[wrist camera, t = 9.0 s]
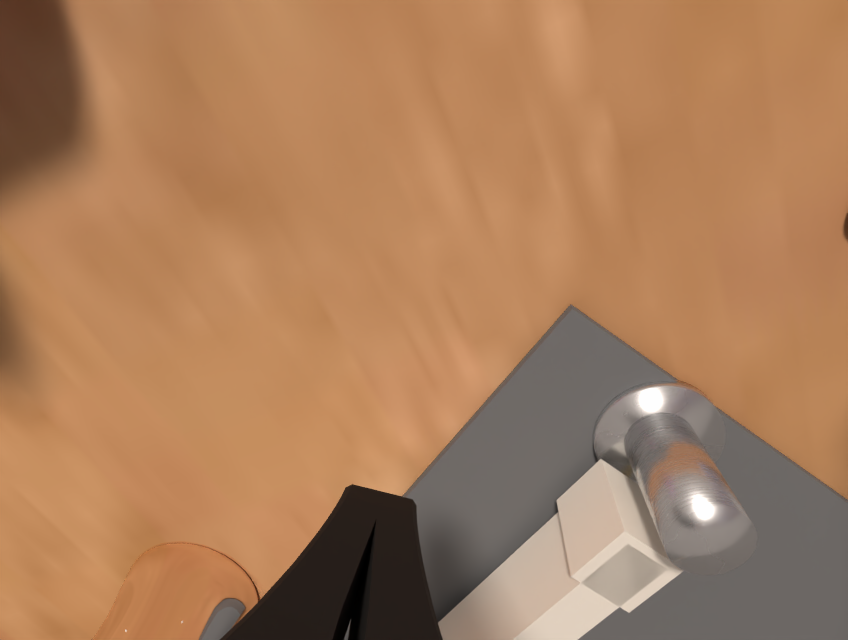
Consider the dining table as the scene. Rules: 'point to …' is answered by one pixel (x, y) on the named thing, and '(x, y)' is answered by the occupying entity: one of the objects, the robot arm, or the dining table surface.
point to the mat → (574, 455)
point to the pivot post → (678, 472)
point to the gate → (571, 568)
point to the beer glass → (179, 596)
